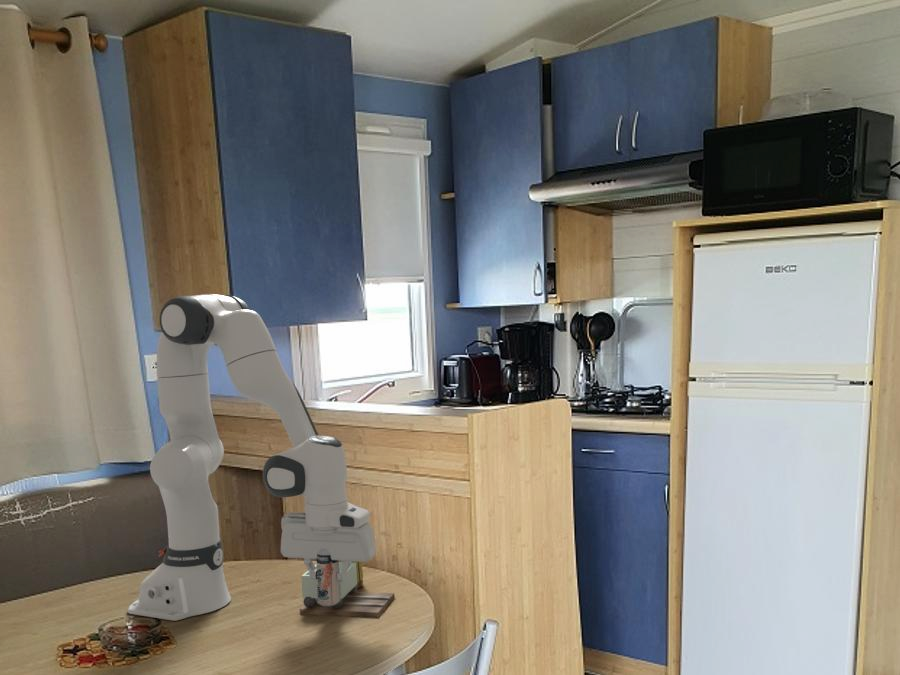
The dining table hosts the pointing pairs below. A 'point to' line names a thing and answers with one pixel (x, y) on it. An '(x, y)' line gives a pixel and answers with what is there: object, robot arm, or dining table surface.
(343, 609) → the walnut track
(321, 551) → the beer can
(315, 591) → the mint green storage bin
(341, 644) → the dining table surface
